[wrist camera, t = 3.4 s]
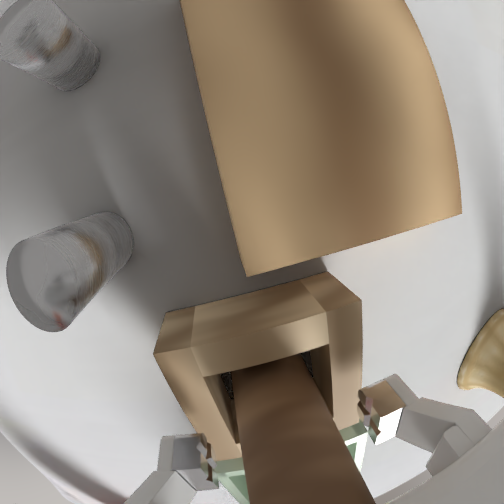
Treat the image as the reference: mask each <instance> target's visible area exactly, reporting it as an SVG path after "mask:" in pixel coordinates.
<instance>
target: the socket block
mask: <svg viewBox="0 0 504 504" xmlns="http://www.w3.org/2000/svg"><path fill="white" fill-rule="evenodd" d="M362 349H363V339H362V300H361V299H360V298H359V297H357V296H356V295H355V294H354V293H353V292H352V291H350V290H349V289H348V288H347V287H346V286H345V285H343V284H342V283H341V282H340V281H339V280H337V279H336V278H335V277H334V276H333V275H331V274H330V273H329V272H324V273H321V274H317V275H314V276H310V277H307V278H303V279H299V280H296V281H292V282H288V283H285V284H281V285H277V286H274V287H270V288H266V289H262V290H258V291H255V292H251V293H247V294H243V295H239V296H235V297H231V298H227V299H223V300H219V301H214V302H210V303H206V304H202V305H198V306H193V307H189V308H185V309H180V310H176V311H171V312H167V313H166V314H165V317H164V320H163V323H162V327H161V330H160V333H159V336H158V339H157V343H156V346H155V349H154V353H153V355H154V357H155V359H156V361H157V363H158V365H159V367H160V369H161V371H162V373H163V375H164V377H165V379H166V381H167V383H168V384H169V386H170V388H171V390H172V392H173V394H174V395H175V397H176V399H177V401H178V402H179V404H180V406H181V408H182V409H183V411H184V413H185V414H186V416H187V418H188V419H189V421H190V422H191V424H192V426H193V427H194V429H195V430H196V432H197V433H204V434H205V436H206V437H207V442H208V443H210V444H211V445H212V447H213V449H214V451H215V454H216V459H217V461H222V460H229V459H235V458H241V457H242V452H241V445H240V438H239V431H238V424H237V416H236V409H235V401H234V399H232V400H231V399H230V397H229V394H228V392H227V390H226V387H225V385H224V382H223V380H222V377H221V375H220V373H225V372H230V371H234V370H239V369H243V368H247V367H251V366H255V365H259V364H263V363H267V362H271V361H274V360H278V359H281V358H285V357H288V356H292V355H295V354H298V353H302V352H305V351H308V350H310V354H311V362H312V370H313V380H314V382H315V384H316V386H317V388H318V390H319V392H320V394H321V396H322V398H323V400H324V402H325V404H326V406H327V408H328V410H329V412H330V414H331V416H332V418H333V420H334V422H335V424H336V426H337V428H338V430H341V429H344V428H347V427H349V426H352V425H354V424H356V423H359V415H358V411H357V404H358V402H359V401H360V400H359V398H358V391H359V390H360V389H361V386H362Z"/></svg>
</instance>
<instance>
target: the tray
mask: <svg viewBox="0 0 504 504" xmlns="http://www.w3.org/2000/svg"><path fill="white" fill-rule="evenodd" d="M339 432H340V434H341V436H342V438H343V440H344V442H345V444H346V446H347V448H348V450H349V452H350V454H351V456H352V458H353V460H354V462H355V464H356V466H357V468H358V470H359V472H360V471H361V466H362V461H363V456H364V451H365V446H366V440H367V434H368V431H367V430H366V428H365V426H364V425H363V424H362V422H361V420H360V418H359V423H356V424H354V425H352V426H349V427H347V428H344V429H341V430H339ZM214 470H215V472H216V473H217V474H218V480H219V481H220V482H221V483H222V484H223V486H224V487H225V488H226V489H227V490H228V491H229V492H230V494H231V495H232V496H233V497H234V498H235V499H236V500H237V501H238V502H239V503H240V504H250V501H249V496H248V490H247V484H246V478H245V471H244V465H243V459H242V457H241V458H235V459H229V460H222V461H217V466H216V467H215V469H214Z"/></svg>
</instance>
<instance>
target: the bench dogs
mask: <svg viewBox="0 0 504 504" xmlns="http://www.w3.org/2000/svg"><path fill="white" fill-rule="evenodd" d="M0 60H2V61H5V62H7V63H9V64H11V65H13V66H15V67H17V68H19V69H21V70H23V71H25V72H27V73H29V74H31V75H33V76H35V77H37V78H39V79H41V80H43V81H45V82H47V83H49V84H51V85H52V86H54V87H56V88H58V89H60V90H63V91H71V90H74V89H76V88H78V87H80V86H82V85H83V84H84V83H85V82H87V81H88V80H89V79H90V77H91V76H92V75H93V74H94V72H95V71H96V69H97V67H98V64H99V60H100V53H99V50H98V48H97V47H96V46H95V45H94V44H93V43H92V42H91V41H90V40H89V39H88V37H87V36H86V35H85V34H84V33H83V32H82V31H81V30H80V29H79V28H78V27H77V26H76V25H75V24H74V23H73V21H72V20H71V19H70V18H69V17H68V16H67V15H66V14H65V13H64V12H63V11H62V10H61V9H60V8H59V7H58V6H57V5H56V4H55V3H54V1H53V0H18V1H17V2H15V3H14V4H13V5H12V6H11V7H10V8H9V9H8V10H7V11H6V12H5V13H4V14H3V16H2V17H1V18H0ZM132 251H133V236H132V233H131V230H130V228H129V226H128V225H127V223H126V222H125V221H124V220H123V219H122V218H121V217H120V216H118V215H116V214H114V213H110V212H101V213H97V214H94V215H91V216H88V217H85V218H82V219H79V220H76V221H73V222H70V223H67V224H64V225H62V226H59V227H56V228H53V229H51V230H48V231H45V232H43V233H40V234H38V235H35V236H32V237H30V238H27V239H25V240H23V241H21V242H19V243H18V244H16V245H15V246H14V248H13V249H12V251H11V252H10V255H9V257H8V261H7V267H6V277H7V284H8V288H9V292H10V294H11V297H12V299H13V301H14V303H15V305H16V307H17V308H18V310H19V311H20V313H21V314H22V315H23V316H24V317H25V318H26V319H27V320H28V321H29V322H30V323H31V324H33V325H34V326H35V327H37V328H39V329H41V330H44V331H48V332H58V331H62V330H64V329H65V328H67V327H68V326H69V325H70V324H71V322H72V321H73V320H74V319H75V318H76V317H77V316H78V314H79V313H80V312H81V311H82V310H83V309H84V308H85V307H86V305H87V304H88V303H89V302H90V301H91V300H92V299H93V298H94V297H95V295H96V294H97V293H98V292H99V291H100V290H101V289H102V288H103V287H104V286H105V285H106V284H107V283H108V282H109V281H110V280H111V278H112V277H113V276H114V275H115V274H116V273H117V272H118V271H119V270H120V269H121V268H122V267H123V266H124V265H125V264H126V263H127V262H128V261H129V259H130V257H131V255H132Z"/></svg>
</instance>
